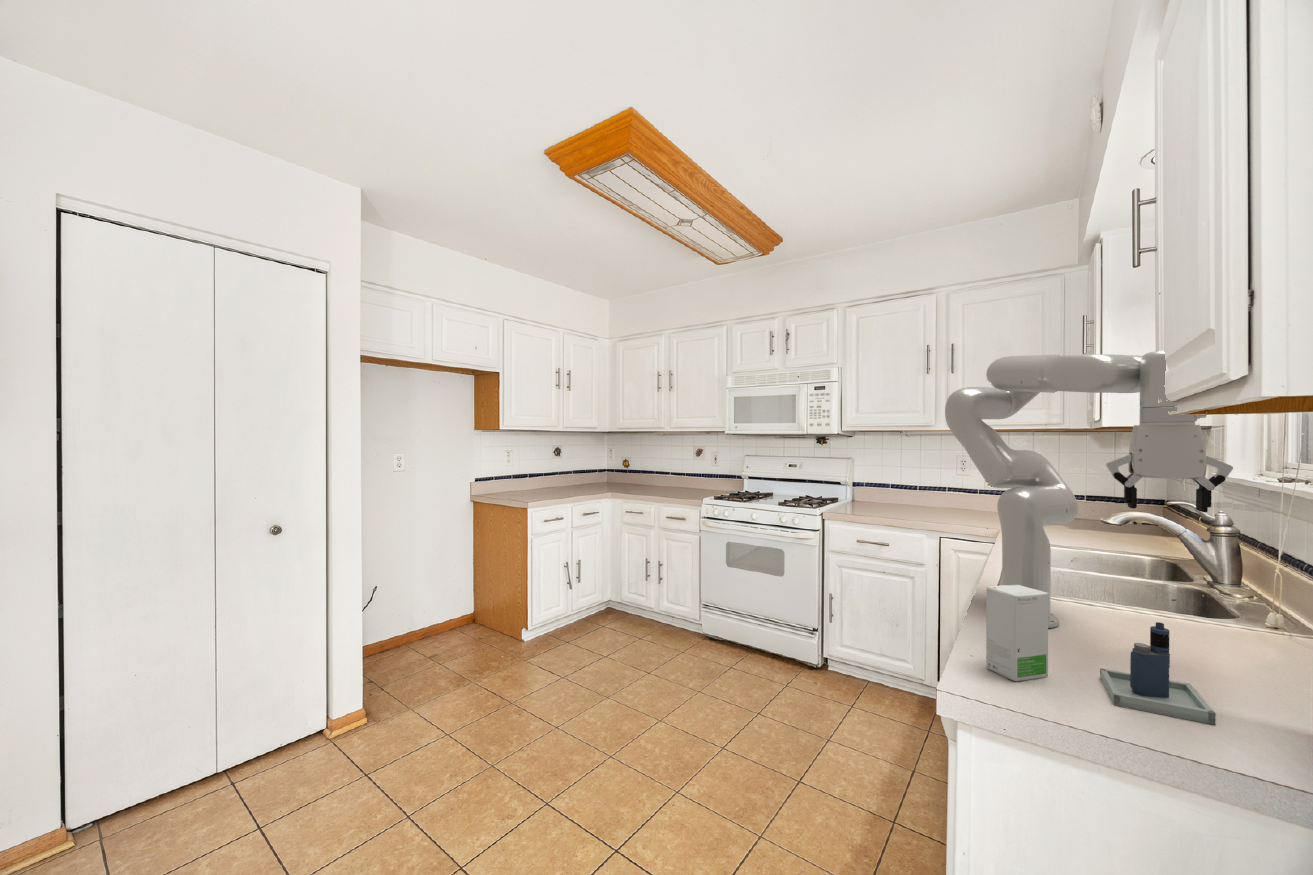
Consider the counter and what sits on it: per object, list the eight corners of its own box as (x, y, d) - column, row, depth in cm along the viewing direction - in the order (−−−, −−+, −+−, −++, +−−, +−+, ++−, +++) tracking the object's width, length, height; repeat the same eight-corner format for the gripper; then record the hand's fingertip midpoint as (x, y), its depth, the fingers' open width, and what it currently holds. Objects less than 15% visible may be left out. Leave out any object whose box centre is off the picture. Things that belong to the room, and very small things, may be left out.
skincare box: (1014, 682, 96) (1014, 596, 96) (982, 667, 102) (983, 586, 102) (1050, 676, 98) (1050, 592, 98) (1017, 661, 104) (1017, 582, 104)
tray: (1100, 677, 97) (1100, 668, 97) (1190, 694, 91) (1190, 683, 91) (1113, 704, 88) (1114, 694, 88) (1215, 724, 82) (1215, 713, 82)
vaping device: (1173, 698, 88) (1174, 626, 88) (1137, 696, 89) (1137, 624, 89) (1162, 691, 91) (1162, 621, 91) (1126, 688, 92) (1127, 619, 92)
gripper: (1223, 417, 98) (1222, 510, 99) (1102, 418, 107) (1102, 503, 107) (1241, 416, 92) (1240, 515, 92) (1111, 417, 101) (1110, 508, 101)
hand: (1166, 509), depth 100 cm, fingers open, 9 cm apart
